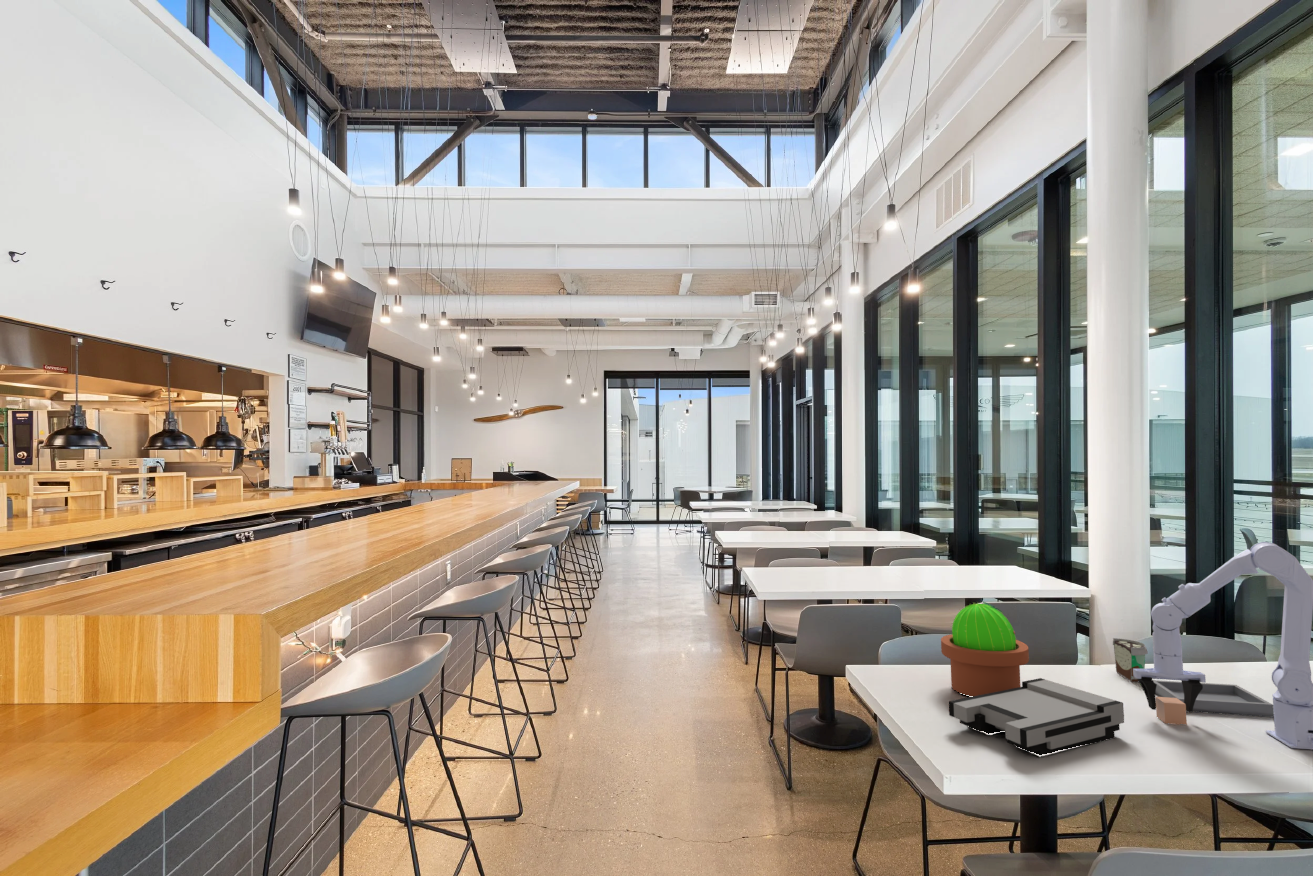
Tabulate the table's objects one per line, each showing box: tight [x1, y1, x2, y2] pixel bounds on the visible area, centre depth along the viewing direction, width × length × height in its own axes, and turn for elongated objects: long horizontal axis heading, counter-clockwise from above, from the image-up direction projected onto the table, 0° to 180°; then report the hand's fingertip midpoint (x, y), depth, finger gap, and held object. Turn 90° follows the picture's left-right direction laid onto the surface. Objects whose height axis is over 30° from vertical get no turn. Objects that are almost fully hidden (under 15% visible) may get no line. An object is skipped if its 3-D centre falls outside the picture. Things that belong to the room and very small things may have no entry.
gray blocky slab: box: [948, 677, 1125, 755], centre depth 159 cm, size 21×32×8 cm, turn 113°
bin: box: [1152, 679, 1274, 718], centre depth 176 cm, size 16×20×3 cm
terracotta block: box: [1155, 696, 1188, 726], centre depth 165 cm, size 4×4×5 cm
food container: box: [1112, 637, 1148, 683], centre depth 199 cm, size 12×6×10 cm, turn 168°
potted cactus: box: [940, 601, 1030, 696], centre depth 189 cm, size 22×22×25 cm
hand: (1170, 709), depth 165 cm, fingers open, 7 cm apart
